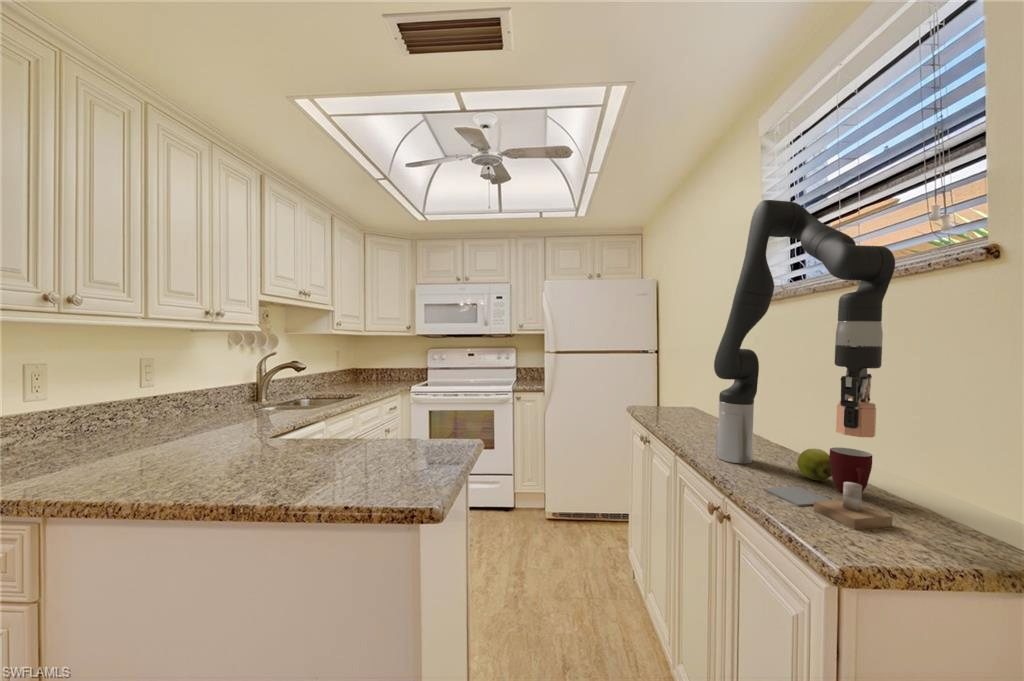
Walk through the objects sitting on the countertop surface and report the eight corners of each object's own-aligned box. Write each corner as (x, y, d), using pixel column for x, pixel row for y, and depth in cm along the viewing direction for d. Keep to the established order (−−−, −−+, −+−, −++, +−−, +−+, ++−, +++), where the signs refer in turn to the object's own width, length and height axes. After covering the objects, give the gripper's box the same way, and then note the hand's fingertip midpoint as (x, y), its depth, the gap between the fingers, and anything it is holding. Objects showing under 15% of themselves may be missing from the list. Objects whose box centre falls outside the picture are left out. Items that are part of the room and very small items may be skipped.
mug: (887, 505, 97) (888, 460, 97) (847, 502, 98) (849, 458, 98) (856, 488, 108) (858, 448, 108) (821, 486, 109) (822, 446, 109)
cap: (840, 429, 94) (841, 399, 94) (876, 434, 89) (877, 403, 89) (833, 433, 89) (834, 402, 89) (871, 439, 85) (872, 406, 85)
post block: (813, 510, 93) (815, 478, 93) (848, 508, 95) (849, 476, 95) (854, 529, 84) (855, 493, 84) (892, 526, 86) (893, 491, 86)
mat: (763, 489, 105) (763, 488, 105) (798, 488, 107) (798, 486, 107) (798, 506, 95) (798, 504, 95) (836, 503, 97) (836, 502, 97)
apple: (820, 474, 118) (821, 445, 118) (842, 486, 109) (843, 454, 109) (790, 473, 119) (791, 444, 119) (809, 484, 110) (810, 453, 110)
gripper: (844, 343, 97) (841, 418, 97) (826, 343, 87) (822, 426, 88) (888, 344, 91) (885, 424, 91) (874, 344, 82) (870, 434, 82)
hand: (854, 425), depth 89 cm, fingers closed on cap, 6 cm apart
